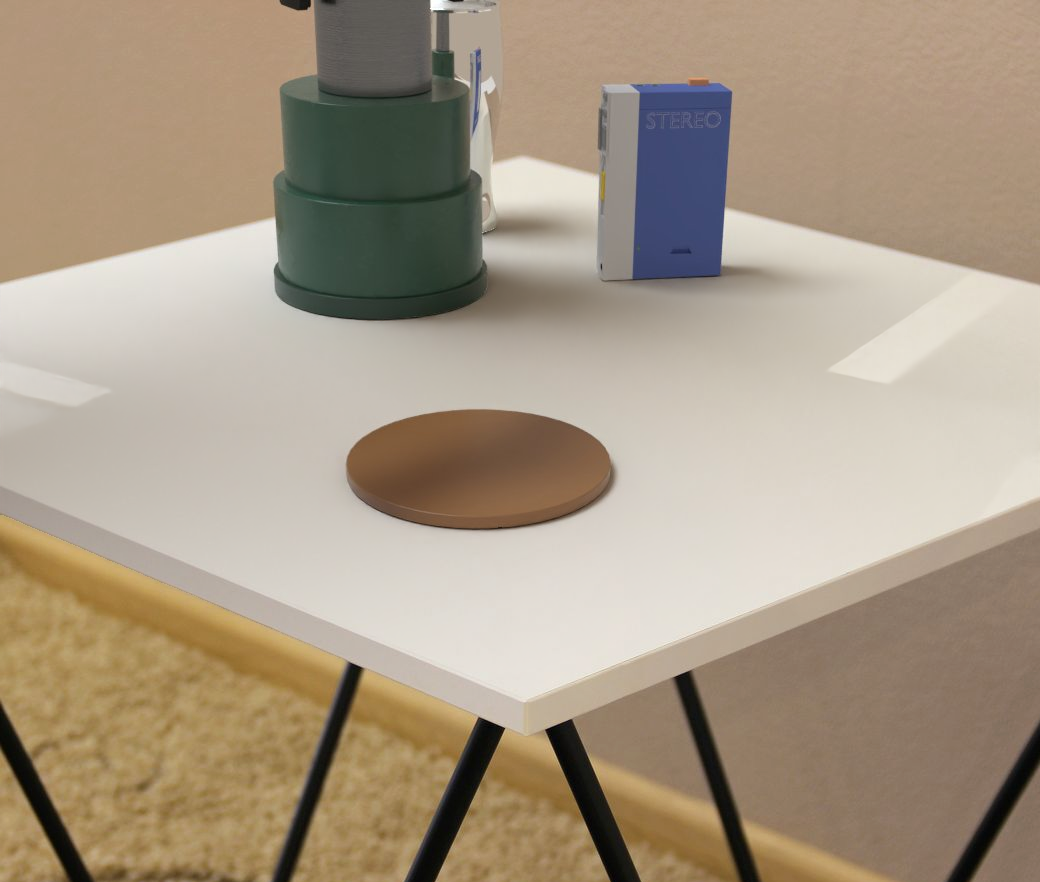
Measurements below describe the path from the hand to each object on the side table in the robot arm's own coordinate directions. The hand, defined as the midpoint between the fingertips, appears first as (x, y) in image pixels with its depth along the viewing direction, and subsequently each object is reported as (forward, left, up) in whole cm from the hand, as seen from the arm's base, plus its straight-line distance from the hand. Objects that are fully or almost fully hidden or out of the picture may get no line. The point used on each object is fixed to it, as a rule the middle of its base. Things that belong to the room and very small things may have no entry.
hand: (373, 2), depth 87 cm
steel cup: (0, 0, -5) cm, 5 cm away
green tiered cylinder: (0, 0, -17) cm, 17 cm away
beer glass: (-4, +14, -17) cm, 22 cm away
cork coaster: (+20, -20, -17) cm, 33 cm away
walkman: (+13, +12, -17) cm, 24 cm away
